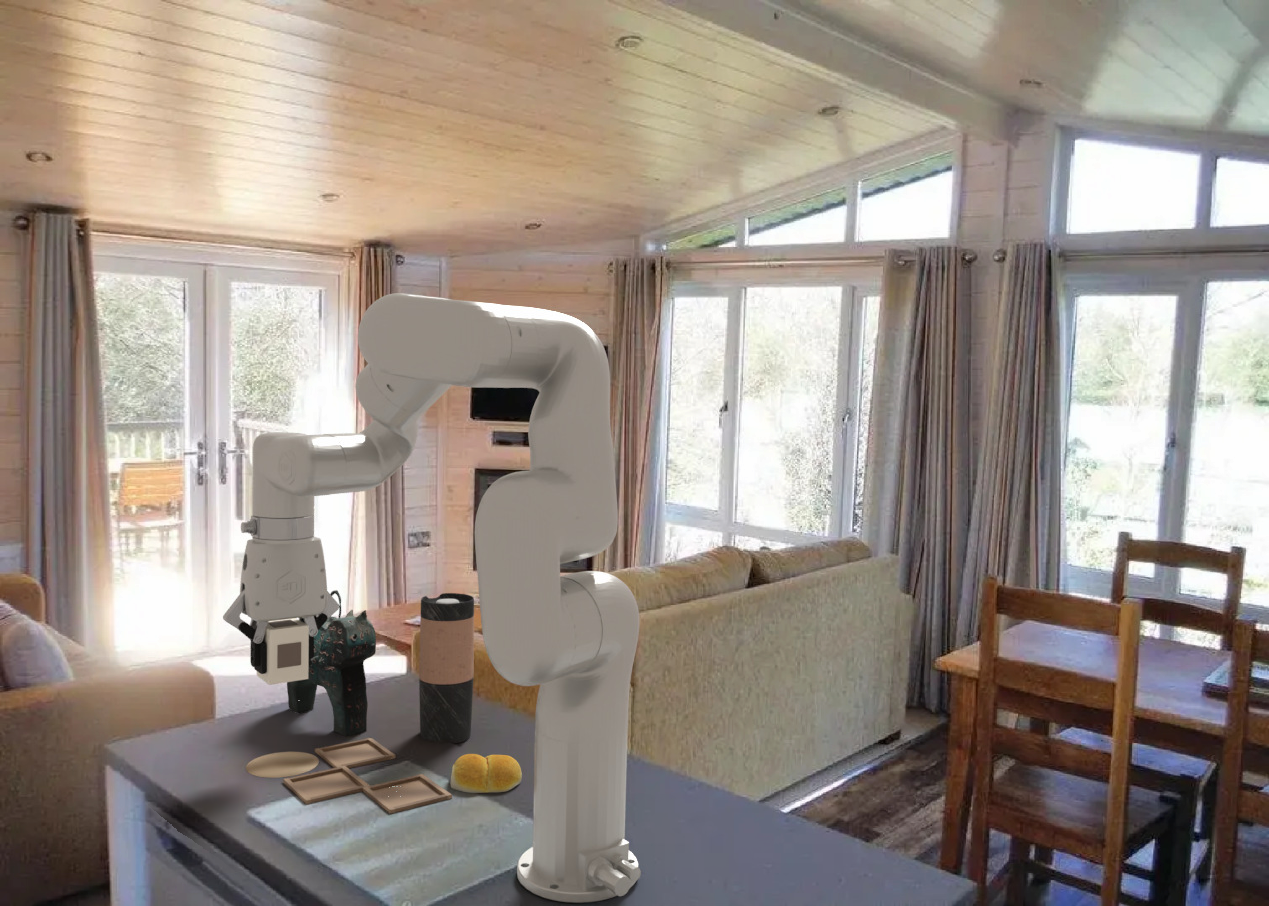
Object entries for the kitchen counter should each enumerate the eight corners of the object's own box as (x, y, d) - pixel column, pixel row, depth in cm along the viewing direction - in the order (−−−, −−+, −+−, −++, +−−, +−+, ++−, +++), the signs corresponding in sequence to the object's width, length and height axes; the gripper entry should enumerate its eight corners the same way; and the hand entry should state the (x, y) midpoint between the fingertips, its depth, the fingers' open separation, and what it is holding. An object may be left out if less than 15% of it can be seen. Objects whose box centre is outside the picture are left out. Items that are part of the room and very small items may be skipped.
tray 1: (395, 760, 137) (395, 755, 137) (337, 773, 132) (337, 767, 132) (370, 743, 143) (371, 737, 143) (314, 754, 138) (314, 748, 138)
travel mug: (467, 746, 143) (469, 604, 142) (412, 744, 143) (414, 603, 142) (476, 728, 151) (479, 593, 149) (425, 726, 151) (426, 592, 150)
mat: (329, 770, 133) (329, 767, 133) (258, 785, 127) (258, 782, 127) (304, 750, 140) (304, 747, 140) (236, 763, 134) (236, 760, 134)
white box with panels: (308, 679, 132) (309, 625, 132) (269, 685, 129) (269, 629, 129) (294, 669, 136) (295, 617, 136) (256, 675, 133) (256, 621, 133)
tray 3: (451, 801, 124) (452, 794, 124) (390, 816, 119) (390, 810, 119) (422, 780, 131) (422, 773, 131) (362, 794, 126) (362, 787, 126)
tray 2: (370, 792, 126) (370, 785, 126) (306, 807, 121) (306, 800, 121) (344, 771, 133) (345, 765, 133) (283, 785, 128) (283, 779, 128)
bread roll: (523, 796, 127) (524, 764, 127) (449, 799, 125) (450, 767, 125) (519, 771, 135) (520, 741, 135) (450, 773, 134) (450, 743, 133)
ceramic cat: (379, 735, 147) (381, 597, 145) (338, 745, 142) (339, 603, 141) (312, 702, 161) (313, 576, 159) (273, 710, 156) (273, 580, 155)
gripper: (223, 537, 123) (222, 685, 125) (358, 528, 134) (356, 665, 135) (205, 529, 129) (205, 670, 131) (336, 521, 140) (335, 652, 141)
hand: (282, 666), depth 133 cm, fingers closed on white box with panels, 5 cm apart
